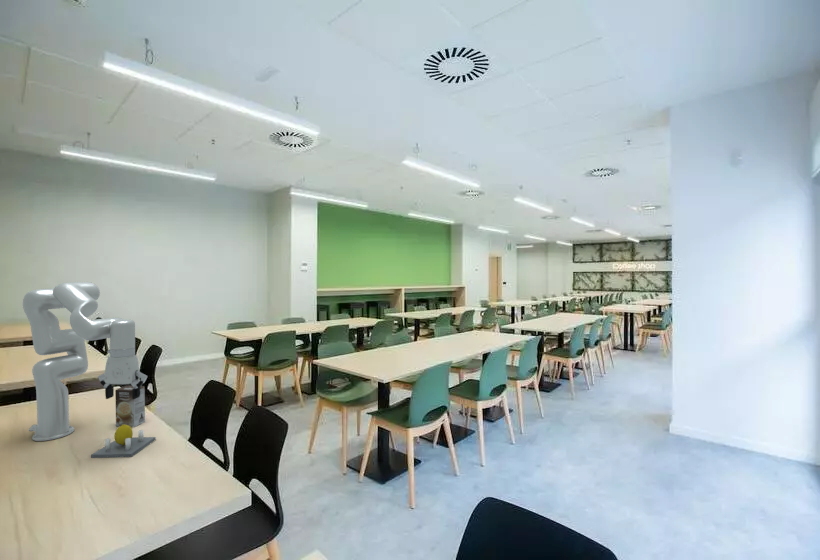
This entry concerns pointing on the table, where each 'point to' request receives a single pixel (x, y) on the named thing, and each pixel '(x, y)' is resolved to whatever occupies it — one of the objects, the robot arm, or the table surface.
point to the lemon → (123, 434)
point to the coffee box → (129, 407)
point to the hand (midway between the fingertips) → (122, 397)
